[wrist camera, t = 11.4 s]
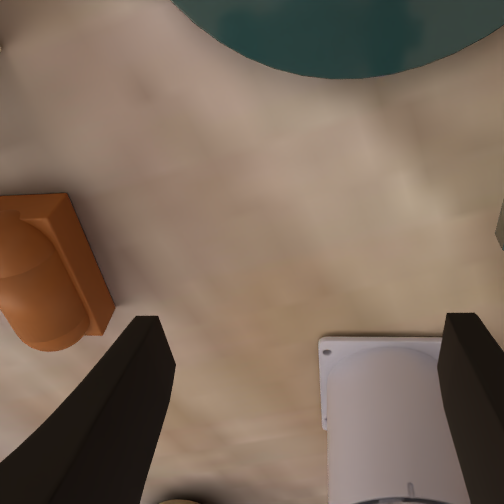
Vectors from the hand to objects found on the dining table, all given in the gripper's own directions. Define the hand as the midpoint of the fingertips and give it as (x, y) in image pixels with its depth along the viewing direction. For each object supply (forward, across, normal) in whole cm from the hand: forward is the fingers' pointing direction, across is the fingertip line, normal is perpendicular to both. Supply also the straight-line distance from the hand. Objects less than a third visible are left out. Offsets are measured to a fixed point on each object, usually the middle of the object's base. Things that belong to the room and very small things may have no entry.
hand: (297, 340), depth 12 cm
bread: (+10, +14, +5) cm, 18 cm away
